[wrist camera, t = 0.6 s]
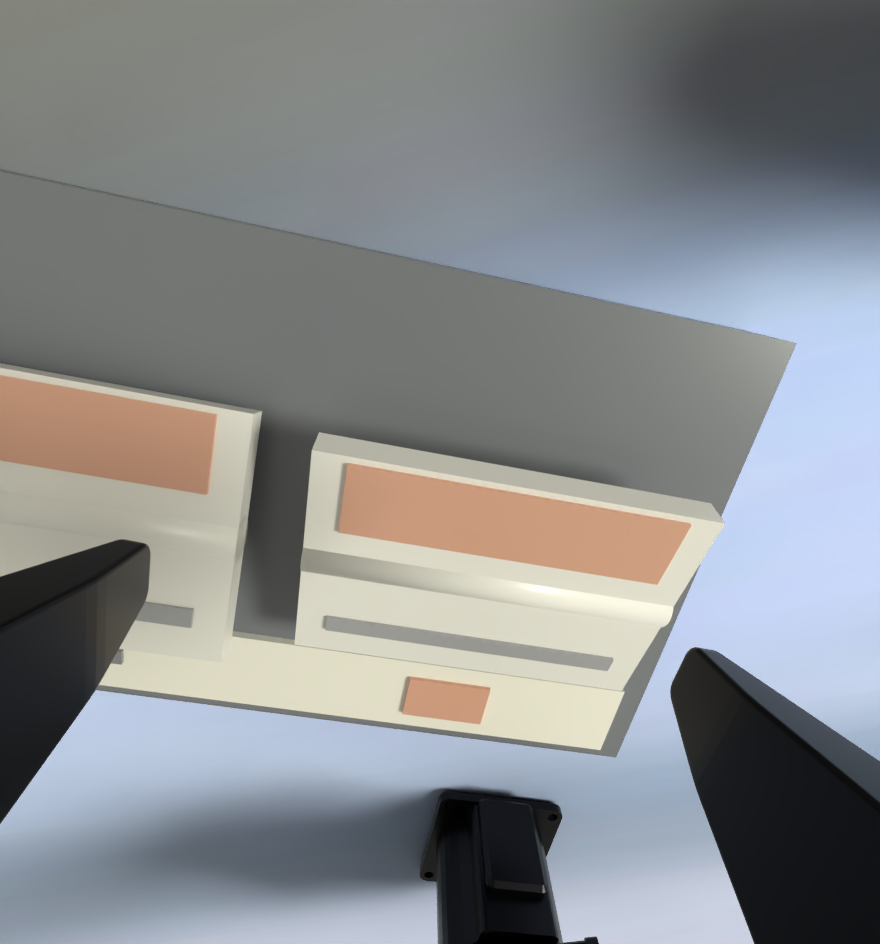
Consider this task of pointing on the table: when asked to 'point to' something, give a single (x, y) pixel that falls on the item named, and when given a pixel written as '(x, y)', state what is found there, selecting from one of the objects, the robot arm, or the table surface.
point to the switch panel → (374, 419)
